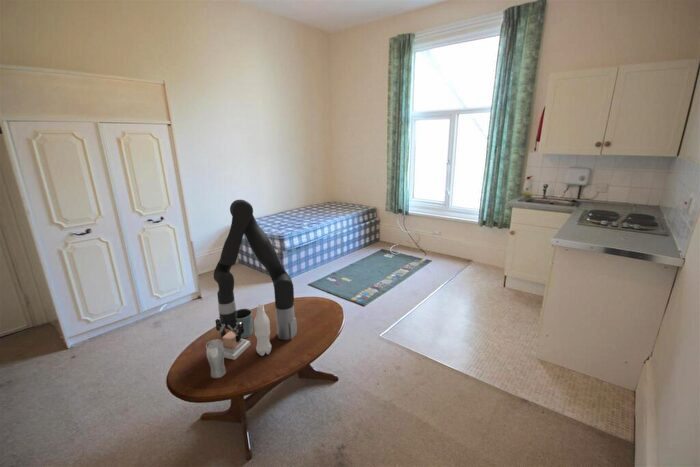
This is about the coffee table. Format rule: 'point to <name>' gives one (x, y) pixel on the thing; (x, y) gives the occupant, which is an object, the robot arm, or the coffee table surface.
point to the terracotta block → (230, 340)
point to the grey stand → (236, 349)
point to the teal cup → (245, 321)
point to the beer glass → (216, 358)
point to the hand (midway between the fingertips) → (231, 339)
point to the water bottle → (262, 331)
